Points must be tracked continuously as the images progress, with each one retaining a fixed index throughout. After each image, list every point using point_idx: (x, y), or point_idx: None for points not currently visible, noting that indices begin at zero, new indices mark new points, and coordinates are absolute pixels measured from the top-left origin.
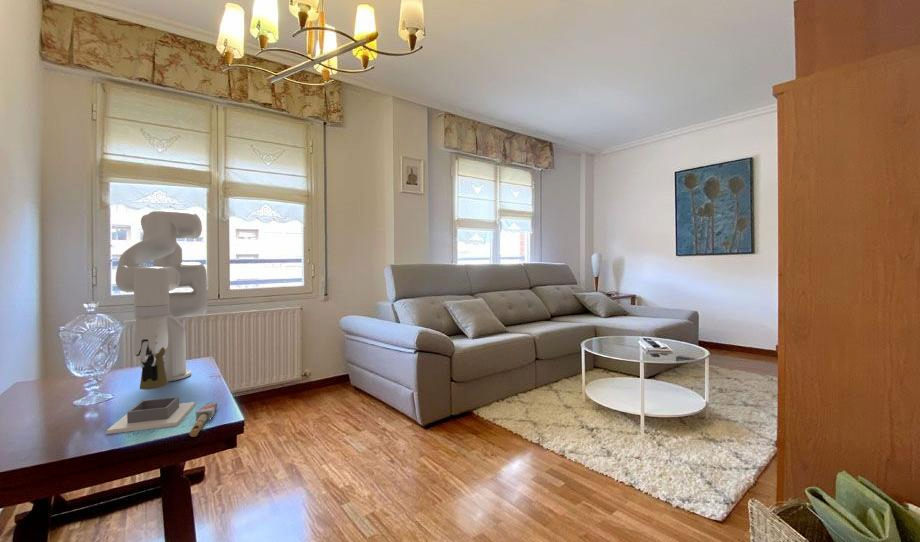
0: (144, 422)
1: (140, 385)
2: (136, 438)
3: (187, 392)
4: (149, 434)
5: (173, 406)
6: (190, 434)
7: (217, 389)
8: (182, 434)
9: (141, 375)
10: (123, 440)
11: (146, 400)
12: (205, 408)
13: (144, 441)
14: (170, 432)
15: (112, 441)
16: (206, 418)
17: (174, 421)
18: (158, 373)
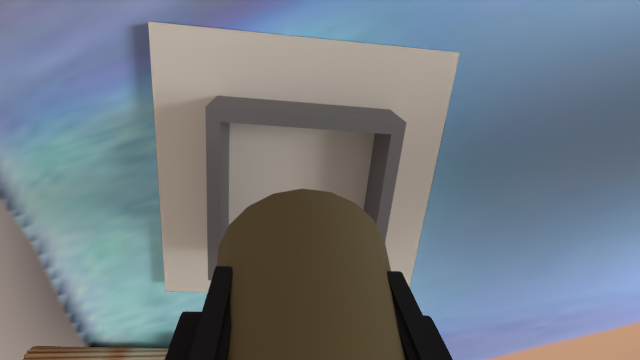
0: (204, 168)
1: (263, 213)
2: (66, 172)
3: (623, 218)
4: (100, 208)
5: None
6: (29, 353)
7: (581, 322)
8: (69, 316)
9: (272, 266)
10: (54, 126)
11: (391, 147)
12: None
13: (24, 211)
14: (102, 274)
15: (52, 83)
16: None
17: (175, 280)
18: None
